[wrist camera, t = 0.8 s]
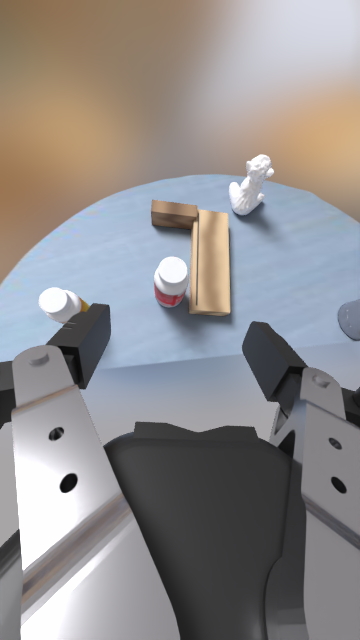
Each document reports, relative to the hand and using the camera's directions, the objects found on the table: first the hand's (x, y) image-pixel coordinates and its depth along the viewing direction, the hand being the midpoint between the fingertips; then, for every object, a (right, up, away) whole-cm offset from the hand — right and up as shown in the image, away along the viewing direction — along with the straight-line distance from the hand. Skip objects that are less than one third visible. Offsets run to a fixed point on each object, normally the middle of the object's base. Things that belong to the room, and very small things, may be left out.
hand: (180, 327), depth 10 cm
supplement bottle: (-20, +1, +26) cm, 33 cm away
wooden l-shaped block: (+2, +13, +31) cm, 34 cm away
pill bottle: (-2, +6, +29) cm, 30 cm away
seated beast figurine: (+16, +30, +37) cm, 50 cm away
